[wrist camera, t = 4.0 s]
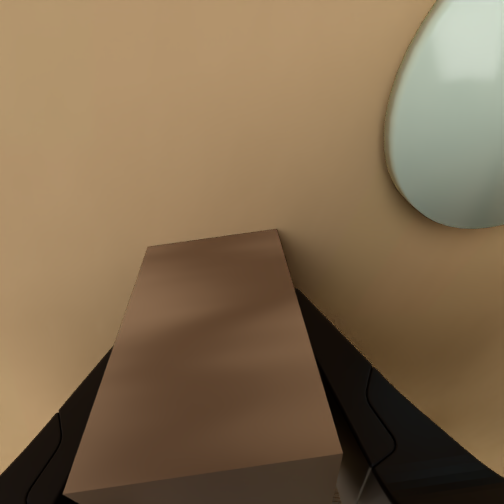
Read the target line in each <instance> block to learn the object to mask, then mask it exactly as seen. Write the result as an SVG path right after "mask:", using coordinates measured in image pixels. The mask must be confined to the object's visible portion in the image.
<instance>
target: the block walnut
mask: <svg viewBox="0 0 504 504" xmlns="http://www.w3.org/2000/svg"><path fill="white" fill-rule="evenodd" d="M342 456H343V452H342V448H341V445H340V441H339V438H338V435H337V431H336V428H335V425H334V421H333V418H332V414H331V411H330V408H329V404H328V401H327V398H326V394H325V391H324V387H323V384H322V381H321V377H320V374H319V371H318V367H317V364H316V360H315V357H314V354H313V350H312V347H311V344H310V340H309V337H308V333H307V330H306V327H305V323H304V320H303V317H302V313H301V310H300V306H299V303H298V300H297V296H296V293H295V290H294V286H293V283H292V279H291V276H290V273H289V269H288V266H287V263H286V259H285V256H284V252H283V249H282V246H281V242H280V239H279V236H278V232H277V229H273V230H266V231H258V232H251V233H244V234H237V235H230V236H223V237H216V238H208V239H201V240H194V241H187V242H180V243H173V244H166V245H158V246H151V247H148V248H147V251H146V253H145V256H144V259H143V262H142V265H141V268H140V271H139V274H138V277H137V280H136V283H135V285H134V288H133V291H132V294H131V297H130V300H129V303H128V306H127V309H126V312H125V314H124V317H123V320H122V323H121V326H120V329H119V332H118V335H117V338H116V341H115V343H114V346H113V349H112V352H111V355H110V358H109V361H108V364H107V367H106V370H105V372H104V375H103V378H102V381H101V384H100V387H99V390H98V393H97V396H96V399H95V402H94V404H93V407H92V410H91V413H90V416H89V419H88V422H87V425H86V428H85V431H84V433H83V436H82V439H81V442H80V445H79V448H78V451H77V454H76V457H75V460H74V462H73V465H72V468H71V471H70V474H69V477H68V480H67V483H66V486H65V489H64V491H63V495H65V496H67V497H68V498H70V499H72V500H74V501H75V502H77V503H79V504H332V501H333V496H334V492H335V487H336V483H337V478H338V474H339V469H340V465H341V460H342Z"/></svg>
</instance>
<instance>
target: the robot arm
mask: <svg viewBox="0 0 504 504" xmlns="http://www.w3.org/2000/svg"><path fill="white" fill-rule="evenodd" d="M294 290H295V293H296V296H297V300H298V303H299V306H300V310H301V313H302V317H303V320H304V323H305V327H306V330H307V333H308V337H309V340H310V344H311V347H312V350H313V354H314V357H315V360H316V364H317V367H318V371H319V374H320V377H321V381H322V384H323V387H324V391H325V394H326V398H327V401H328V404H329V408H330V411H331V414H332V418H333V421H334V425H335V428H336V431H337V435H338V438H339V441H340V445H341V448H342V452H343V456H342V460H341V465H340V469H339V474H338V478H337V483H336V487H337V490H338V493H339V496H340V499H341V503H342V504H504V478H503V477H502V476H500V475H499V474H497V473H496V472H494V471H493V470H491V469H490V468H488V467H487V466H486V465H484V464H483V463H481V462H480V461H479V460H478V459H476V458H475V457H474V456H473V455H472V454H470V453H469V452H468V451H467V450H466V449H464V448H463V447H462V446H461V445H460V444H459V443H457V442H456V441H455V440H454V439H453V438H452V437H450V436H449V435H448V434H447V433H446V432H444V431H443V430H442V429H441V428H440V427H439V426H437V425H436V424H435V423H434V422H433V421H432V420H430V419H429V418H428V417H427V416H426V415H424V414H423V413H422V412H421V411H420V410H419V409H418V408H416V407H415V406H414V405H413V404H412V403H411V402H410V401H409V400H407V399H406V398H405V397H404V396H403V395H402V394H401V393H400V392H399V391H398V390H397V389H396V388H394V387H393V386H392V385H391V384H390V383H389V382H388V381H387V380H386V379H385V378H384V377H383V376H382V375H381V374H380V373H379V372H378V370H377V369H376V368H375V367H372V364H371V363H370V362H369V361H368V360H367V359H366V358H365V357H364V356H363V355H362V354H361V353H360V352H359V351H358V350H357V349H356V348H355V347H354V346H353V345H352V344H351V343H350V342H349V341H348V340H347V339H346V338H345V337H344V336H343V335H342V334H341V333H340V332H339V331H338V330H337V329H336V327H335V326H334V325H333V324H332V323H331V322H330V321H329V320H328V319H327V318H326V317H325V316H324V315H323V314H322V313H321V312H320V311H319V310H318V309H317V308H316V307H315V306H314V305H313V304H312V303H311V302H310V301H309V300H308V299H307V298H306V297H305V296H304V295H303V294H302V293H301V292H300V291H299V290H298V289H297V288H294ZM113 346H114V345H113ZM112 349H113V347H112V348H111V349H110V350H109V351H108V352H107V354H106V355H105V356H104V357H103V358H102V360H101V361H100V362H99V363H98V364H97V365H96V367H95V368H94V369H93V370H92V371H91V373H90V374H89V375H88V376H87V377H86V378H85V380H84V381H83V382H82V383H81V384H80V386H79V387H78V388H77V389H76V390H75V391H74V393H73V394H72V395H71V396H70V397H69V399H68V400H67V401H66V402H65V403H64V404H63V406H62V407H61V408H60V409H59V413H56V414H55V415H54V416H53V417H52V419H51V420H50V421H49V422H48V423H47V424H46V426H45V427H44V428H43V429H42V430H41V431H40V432H39V434H38V435H37V436H36V437H35V438H34V439H33V440H32V442H31V443H30V444H29V445H28V446H27V447H26V448H25V449H24V451H23V452H22V453H21V454H20V455H19V456H18V457H17V458H16V459H15V460H14V461H13V462H12V463H11V464H10V466H9V467H8V468H7V469H6V470H5V471H4V472H3V473H2V474H1V475H0V504H79V503H77V502H75V501H74V500H72V499H70V498H68V497H67V496H65V495H63V491H64V489H65V486H66V483H67V480H68V477H69V474H70V471H71V468H72V465H73V462H74V460H75V457H76V454H77V451H78V448H79V445H80V442H81V439H82V436H83V433H84V431H85V428H86V425H87V422H88V419H89V416H90V413H91V410H92V407H93V404H94V402H95V399H96V396H97V393H98V390H99V387H100V384H101V381H102V378H103V375H104V372H105V370H106V367H107V364H108V361H109V358H110V355H111V352H112Z"/></svg>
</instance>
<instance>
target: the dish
mask: <svg viewBox="0 0 504 504" xmlns="http://www.w3.org/2000/svg"><path fill="white" fill-rule="evenodd" d="M384 153H385V159H386V164H387V168H388V171H389V174H390V177H391V179H392V181H393V183H394V185H395V186H396V188H397V190H398V191H399V192H400V194H401V195H402V196H403V197H404V198H405V199H406V200H407V201H408V202H409V203H410V204H411V205H413V206H414V207H415V208H416V209H417V210H418V211H420V212H421V213H422V214H423V215H425V216H426V217H428V218H429V219H431V220H433V221H435V222H437V223H440V224H443V225H446V226H450V227H456V228H467V229H477V228H488V227H494V226H499V225H504V0H437V1H436V2H435V4H434V5H433V7H432V8H431V10H430V11H429V13H428V14H427V16H426V17H425V19H424V20H423V22H422V23H421V25H420V27H419V29H418V30H417V32H416V34H415V36H414V38H413V39H412V41H411V43H410V45H409V47H408V49H407V51H406V53H405V56H404V58H403V60H402V62H401V65H400V67H399V69H398V72H397V75H396V78H395V81H394V84H393V87H392V90H391V93H390V97H389V101H388V106H387V111H386V115H385V126H384Z"/></svg>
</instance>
